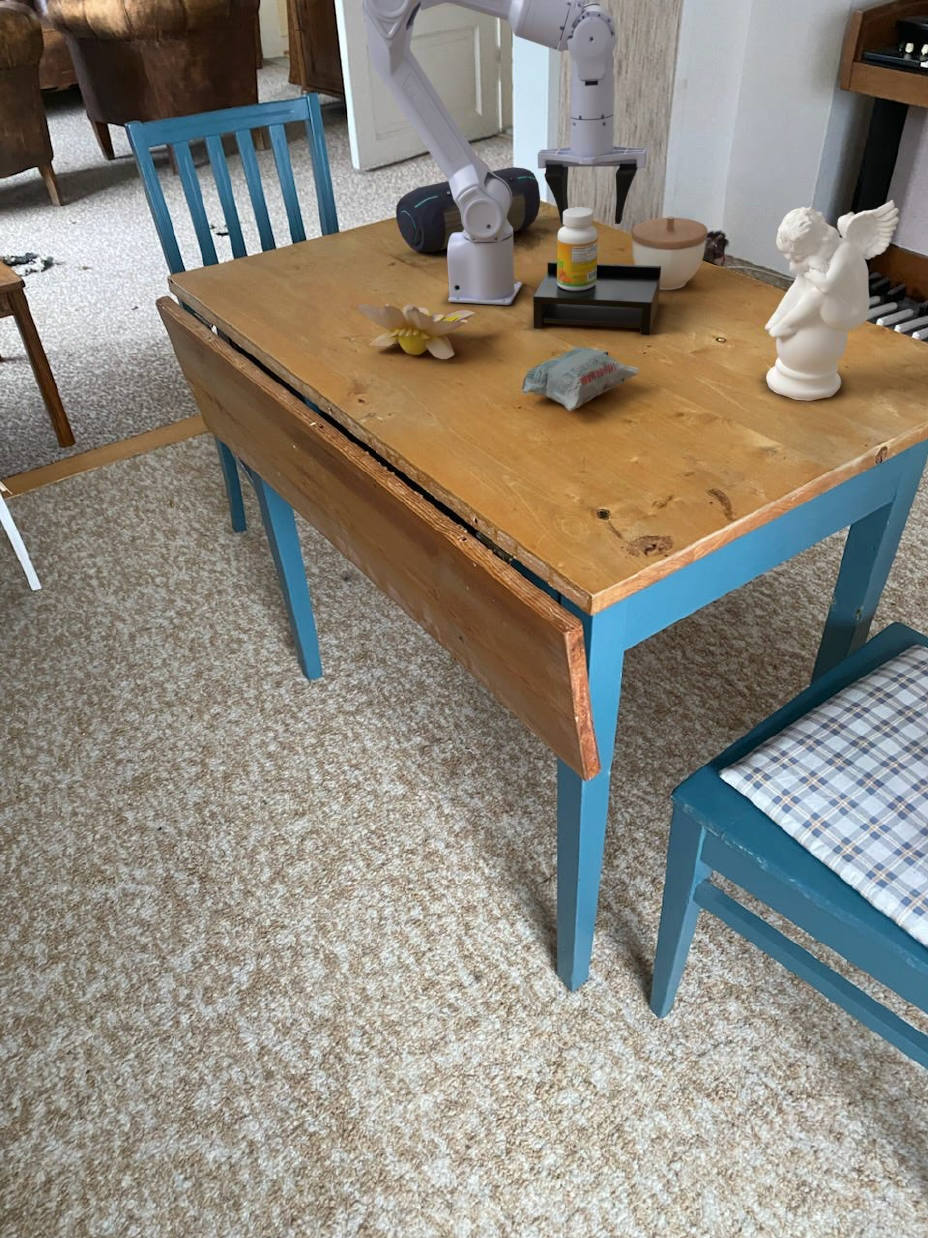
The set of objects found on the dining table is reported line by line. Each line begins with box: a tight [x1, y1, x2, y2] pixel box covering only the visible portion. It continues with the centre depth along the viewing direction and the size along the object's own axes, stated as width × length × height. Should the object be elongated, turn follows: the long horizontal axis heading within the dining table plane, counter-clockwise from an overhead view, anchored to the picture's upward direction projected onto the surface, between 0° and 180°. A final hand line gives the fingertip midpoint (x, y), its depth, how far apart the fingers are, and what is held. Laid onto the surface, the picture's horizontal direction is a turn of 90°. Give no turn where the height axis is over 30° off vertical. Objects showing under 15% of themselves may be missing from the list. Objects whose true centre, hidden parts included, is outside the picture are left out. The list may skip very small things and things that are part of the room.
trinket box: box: [631, 216, 709, 291], centre depth 139 cm, size 11×11×9 cm
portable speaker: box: [395, 166, 541, 253], centre depth 158 cm, size 25×10×10 cm, turn 119°
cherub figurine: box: [764, 199, 900, 402], centre depth 109 cm, size 12×12×22 cm
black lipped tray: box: [532, 261, 661, 336], centre depth 132 cm, size 16×10×6 cm, turn 74°
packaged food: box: [521, 346, 639, 412], centre depth 115 cm, size 9×12×5 cm
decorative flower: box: [355, 303, 475, 360], centre depth 126 cm, size 15×11×10 cm
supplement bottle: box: [556, 206, 599, 291], centre depth 129 cm, size 5×5×10 cm
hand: (591, 221), depth 134 cm, fingers open, 7 cm apart
